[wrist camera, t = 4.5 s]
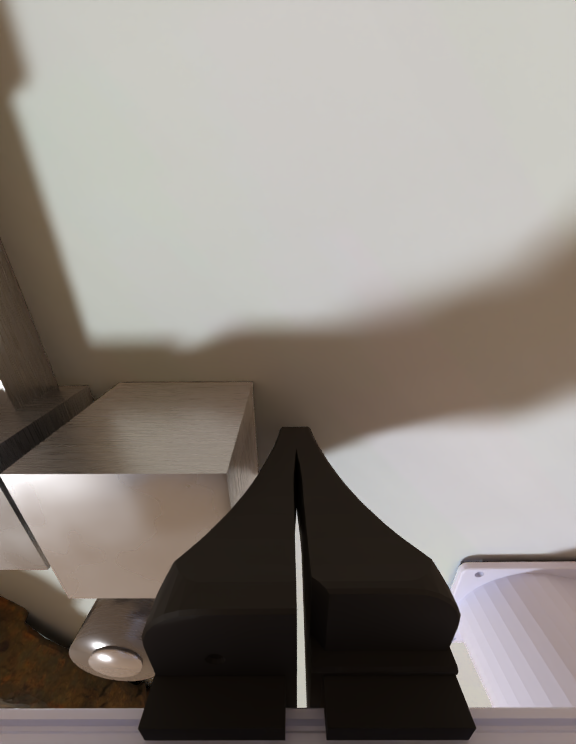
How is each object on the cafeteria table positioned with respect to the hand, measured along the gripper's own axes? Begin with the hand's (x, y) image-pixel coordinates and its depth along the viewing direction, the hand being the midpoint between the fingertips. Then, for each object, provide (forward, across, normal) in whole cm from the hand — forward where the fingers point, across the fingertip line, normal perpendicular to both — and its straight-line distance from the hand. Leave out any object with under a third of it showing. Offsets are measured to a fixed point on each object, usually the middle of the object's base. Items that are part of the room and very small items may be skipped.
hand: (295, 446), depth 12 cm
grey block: (+1, +5, 0) cm, 5 cm away
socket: (+1, +8, +10) cm, 13 cm away
